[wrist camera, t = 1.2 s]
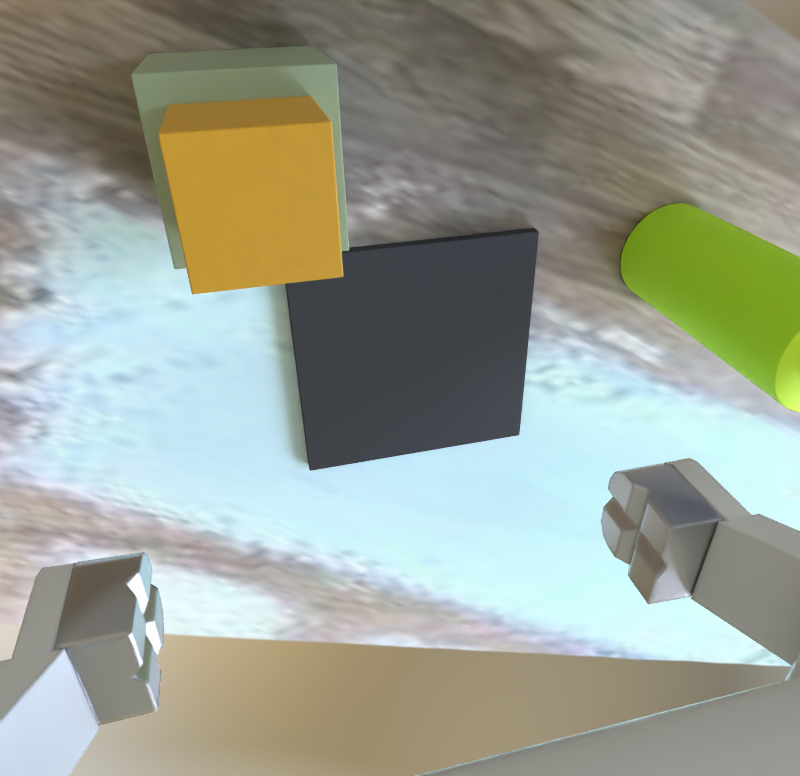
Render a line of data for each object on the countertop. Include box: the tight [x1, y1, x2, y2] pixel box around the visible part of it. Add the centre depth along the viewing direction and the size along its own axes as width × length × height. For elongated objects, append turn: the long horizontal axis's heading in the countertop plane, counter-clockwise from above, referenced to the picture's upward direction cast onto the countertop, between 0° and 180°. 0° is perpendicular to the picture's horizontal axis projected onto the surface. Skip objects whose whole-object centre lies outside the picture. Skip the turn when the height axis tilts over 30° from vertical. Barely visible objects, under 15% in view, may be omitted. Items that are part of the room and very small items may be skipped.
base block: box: [131, 46, 349, 269], centre depth 27 cm, size 7×7×7 cm
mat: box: [286, 228, 539, 470], centre depth 38 cm, size 14×14×1 cm
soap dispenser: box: [621, 203, 800, 412], centre depth 31 cm, size 6×7×20 cm
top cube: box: [158, 96, 343, 294], centre depth 22 cm, size 5×5×5 cm
